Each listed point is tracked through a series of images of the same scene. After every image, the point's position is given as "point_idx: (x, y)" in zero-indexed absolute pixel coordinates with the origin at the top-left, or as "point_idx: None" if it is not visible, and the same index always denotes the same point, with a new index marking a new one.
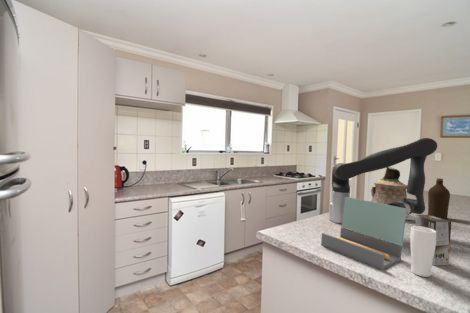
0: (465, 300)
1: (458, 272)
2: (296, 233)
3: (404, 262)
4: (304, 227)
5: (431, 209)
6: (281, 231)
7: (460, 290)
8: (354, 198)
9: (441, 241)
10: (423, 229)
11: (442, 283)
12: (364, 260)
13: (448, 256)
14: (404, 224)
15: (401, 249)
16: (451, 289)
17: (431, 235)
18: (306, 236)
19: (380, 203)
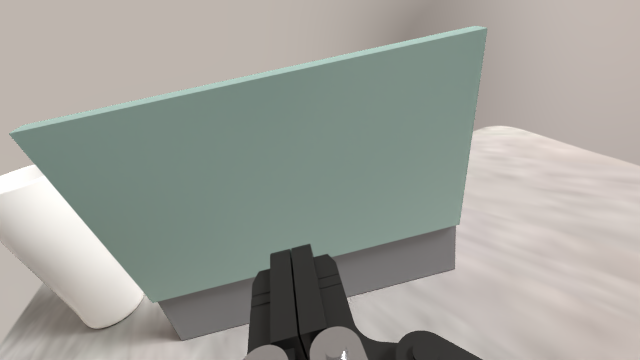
0: (39, 288)
1: None
2: (504, 169)
3: (168, 330)
4: (619, 202)
5: None
6: (518, 148)
7: (24, 322)
8: (399, 42)
9: None
10: (12, 200)
11: (65, 312)
12: None
13: None
14: (89, 220)
15: (162, 306)
16: (51, 304)
17: (13, 183)
18: (473, 181)
19: (204, 89)
